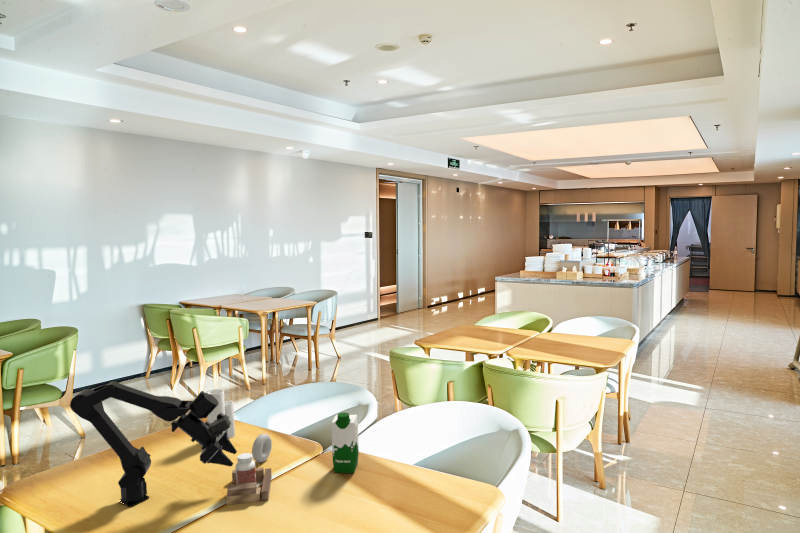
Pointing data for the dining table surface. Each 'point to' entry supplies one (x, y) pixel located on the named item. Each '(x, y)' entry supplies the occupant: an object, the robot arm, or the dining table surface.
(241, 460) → the pill bottle
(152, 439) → the dining table surface
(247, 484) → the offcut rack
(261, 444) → the grey rounded piece
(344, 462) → the milk carton
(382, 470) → the dining table surface
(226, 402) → the vase
